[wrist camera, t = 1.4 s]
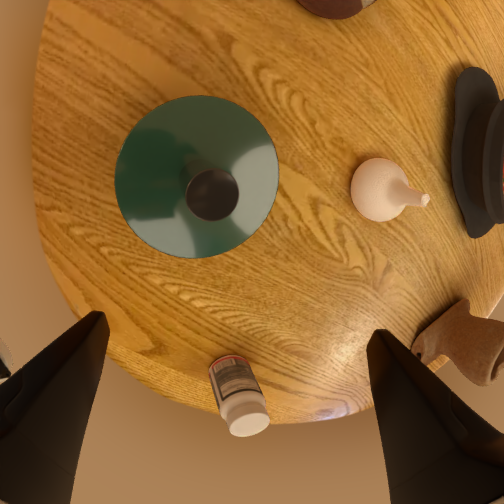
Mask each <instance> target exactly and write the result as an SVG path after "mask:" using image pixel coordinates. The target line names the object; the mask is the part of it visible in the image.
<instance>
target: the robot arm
mask: <svg viewBox="0 0 504 504" xmlns="http://www.w3.org/2000/svg"><path fill="white" fill-rule="evenodd" d="M109 336H110V329H109V325H108V322H107V319H106V315H105V313H104V312H102V311H95V310H94V311H91V312H90V313H88V314H87V315H86V316H85V317H83V318H82V319H81V320H79V321H78V322H77V323H76V324H74V325H73V326H72V327H71V328H69V329H68V330H67V331H66V332H64V333H63V334H62V335H61V336H59V337H58V338H57V339H56V340H54V341H53V342H52V343H51V344H50V345H48V346H47V347H46V348H44V349H43V350H42V351H41V352H40V353H38V354H37V355H36V356H35V357H33V359H31V360H30V361H29V362H27V364H25V365H24V366H23V367H22V368H20V369H19V370H18V371H17V372H16V373H14V374H13V375H12V376H11V372H10V371H9V369H8V368H7V367H6V365H5V364H4V363H3V361H2V360H1V359H0V379H4V378H8V379H7V380H6V381H5V382H3V383H2V384H1V385H0V504H70V501H71V495H72V490H73V484H74V479H75V478H74V476H75V474H76V469H77V464H78V459H79V454H80V451H81V446H82V442H83V438H84V434H85V430H86V426H87V423H88V419H89V415H90V411H91V408H92V404H93V401H94V397H95V394H96V391H97V387H98V384H99V381H100V377H101V373H102V369H103V364H104V359H105V355H106V350H107V345H108V341H109ZM366 352H367V360H368V368H369V377H370V385H371V391H372V396H373V401H374V406H375V410H376V415H377V420H378V425H379V430H380V436H381V441H382V447H383V453H384V459H385V465H386V471H387V477H388V484H389V490H390V491H389V492H390V501H391V504H504V434H503V433H501V432H499V431H498V430H496V429H495V428H494V427H493V426H492V425H490V424H489V423H488V422H487V421H485V420H484V419H483V418H482V417H480V416H479V415H478V414H477V413H476V412H475V411H473V410H472V409H471V408H470V407H469V406H468V405H466V404H465V403H464V402H463V401H462V400H461V399H460V398H459V397H458V396H457V395H456V394H455V393H454V392H451V389H450V388H449V387H448V386H447V385H446V384H444V383H443V382H442V381H441V380H440V379H439V378H438V377H437V376H436V375H435V374H434V373H433V372H432V371H431V370H430V369H429V368H428V367H427V366H426V365H425V364H424V363H423V362H421V361H420V360H419V359H418V358H417V357H416V356H415V355H414V354H413V353H412V352H411V351H410V350H409V349H408V348H407V347H405V346H404V345H403V344H402V343H401V342H400V341H399V340H398V339H397V338H396V337H395V336H394V335H393V334H391V333H390V332H389V331H388V330H387V329H376V330H375V331H374V332H373V334H372V337H371V339H370V340H369V342H368V345H367V349H366ZM10 376H11V377H10Z"/></svg>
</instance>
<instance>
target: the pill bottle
mask: <svg viewBox="0 0 504 504" xmlns="http://www.w3.org/2000/svg"><path fill="white" fill-rule="evenodd" d="M209 378H210V382H211V385H212V389H213V392H214V396H215V399H216V402H217V406H218V409H219V412H220V415H221V416H222V418H223V419H224V420H226V424H227V426H228V429H229V431H230V433H231V434H233V435H235V436H239V437H245V436H251V435H254V434H257V433H259V432H261V431H262V430H264V429H265V428H266V427H267V426H268V424H269V422H270V418H269V415H268V413H267V410H266V408H265V407H266V400H265V398H264V396H263V394H262V391H261V389H260V387H259V385H258V383H257V380H256V378H255V376H254V374H253V372H252V370H251V367H250V365H249V363H248V361H247V360H246V359H244V358H243V357H241V356H237V355H227V356H224V357H221V358H219V359H217V360H216V361H215V362H214V363H213V364H212V365H211V367H210V369H209Z"/></svg>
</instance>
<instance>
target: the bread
mask: <svg viewBox="0 0 504 504" xmlns="http://www.w3.org/2000/svg"><path fill="white" fill-rule="evenodd" d="M297 1H298V2H299V3H300V4H302V6H304V7H305V8H306V9H307V10H309V11H310V12H312V13H314V14H316V15H318V16H321V17H324V18H329V19H346V18H349V17H352V16H354V15H356V14H357V13H359V12H360V11H361V10H362V9H364V8H366V7H368V6H370V5H371V4H373V3H374V2H375V1H376V0H297Z"/></svg>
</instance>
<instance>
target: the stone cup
mask: <svg viewBox="0 0 504 504" xmlns="http://www.w3.org/2000/svg"><path fill="white" fill-rule="evenodd" d="M469 311H470V303H469V300H468V299H462V300H460V301H459V302H457V303H456V304H454V305H453V306H452V307H451V308H449V309H448V310H447V311H446V312H445V313H443V314H442V315H441V316H440V317H439V318H438V319H437V320H435V321H434V322H433V323H432V324H431V325H429V326H428V327H427V328H426V329H425V330H424V331H422V332H421V333H420V335H419V336H418V337H417V339H416V340H415V342H414V343H413V346H412V348H411V352H412V353H413V354H414V355H415V356H416V357H417V358H418V359H419V360H420V361H421V362H423V363H424V364H425V365H426V366H427V365H428V364H430V363H431V362H432V361H434V360H435V359H436V358H437V357H439V356H440V355H441V354H442V355H446V356H448V357H449V358H450V359H451V360H452V361H453V362H454V364H455V365H456V366H457V368H458V369H459V370H460V372H461V373H462V374H463V375H464V376H465V377H466V378H468V379H469V380H470V381H471V382H473V383H474V384H476V385H478V386H489V385H491V384H492V383H494V382H495V380H496V379H497V377H498V374H499V372H500V371H501V370H502V369H503V368H504V322H501V321H497V320H493V319H486V318H480V317H475V316H472V315H471V314H470V313H469Z"/></svg>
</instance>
